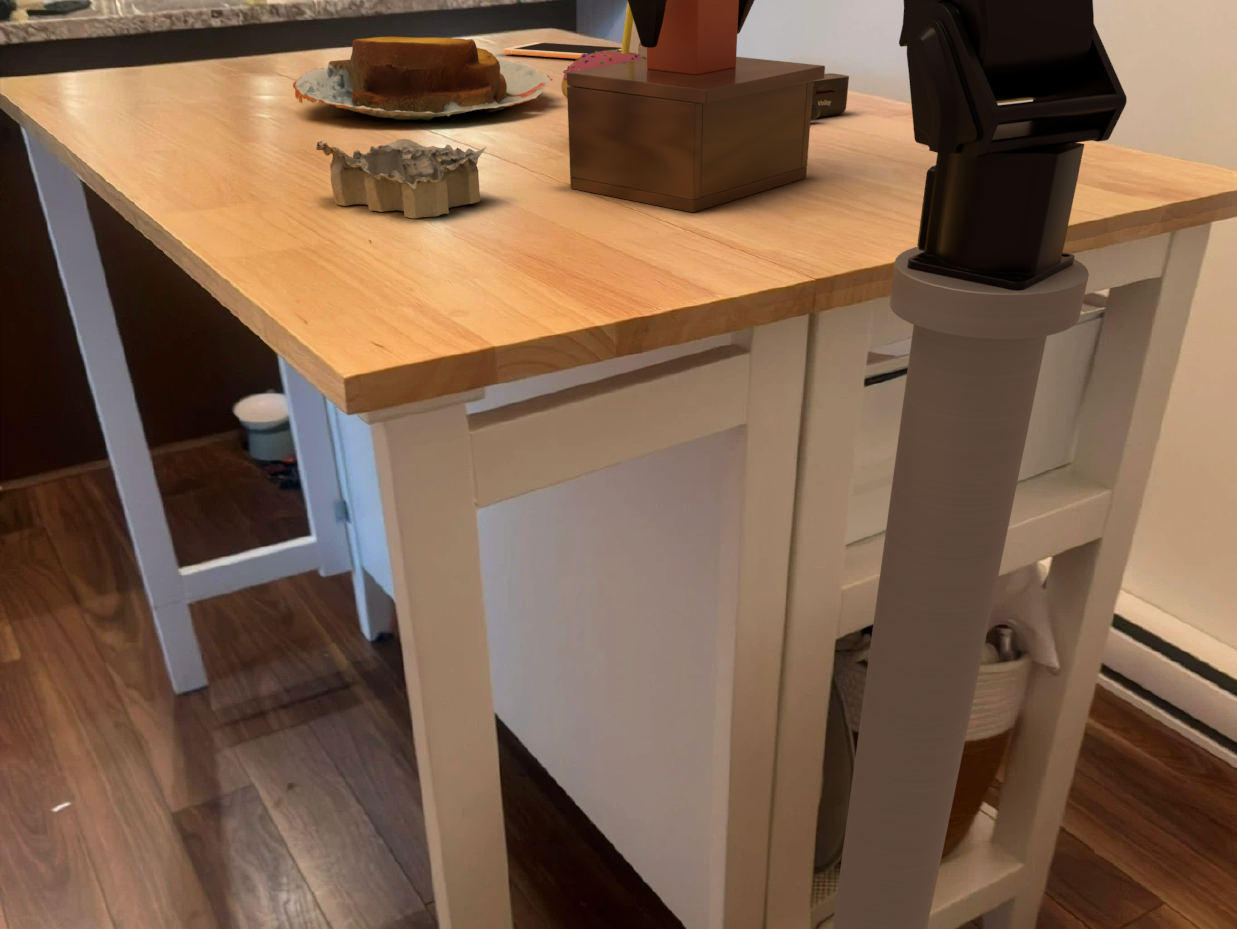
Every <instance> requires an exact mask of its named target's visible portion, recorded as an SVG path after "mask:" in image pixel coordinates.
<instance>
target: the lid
mask: <svg viewBox="0 0 1237 929" xmlns="http://www.w3.org/2000/svg"><path fill="white" fill-rule="evenodd" d="M825 70H826V66H825V65H823V64H822V65H821V64H812V63H802V62H792V61H782V60H774V59H773V60H772V59H762V58H754V57H753V58H752V57H745V56H744V57H743V56H736V67H735V68H730V69H725V70H719V71H714V72H709V73H703V74H698V75H693V74H684V73H676V72H667V71H659V70H650V69H647V59H644V60H638V61H632V62H626V63H620V64H614V65H608V66H602V67H596V68H590V69H584V70H578V71H572V72H567V85H568V86H575V87H582V88H589V89H597V90H604V91H612V92H619V93H627V94H634V95H642V96H649V97H656V98H664V99H671V100H679V101H686V102H694V103H701V104H709V103H713V102H718V101H723V100H727V99H732V98H737V97H741V96H746V95H751V94H755V93H760V92H764V91H769V90H774V89H778V88H783V87H788V86H792V85H797V84H802V83H806V82H811V81H815V80H820V79H824V74H826V71H825Z"/></svg>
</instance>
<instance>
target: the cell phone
mask: <svg viewBox="0 0 1237 929" xmlns="http://www.w3.org/2000/svg"><path fill="white" fill-rule="evenodd" d="M611 49H613V50H616V49H619V50H622V46H620V47H619V46H606V45H593V44H575V43H557V42H542V41H536V42H535V41H534V42H531V43H529V42H528V43H525V44H524V43H523V44H519V45H515V46H509V47H505V48H503V54H504V55H516V56H531V57H532V56H533V57H548V58H560V59H561V58H562V59H575V60H576V59H578V58H579V57H580V56H582V54H588V53H589V52H592V53H595V51H597V52H600V51H603V50H604V51H609V50H611Z"/></svg>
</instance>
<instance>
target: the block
mask: <svg viewBox="0 0 1237 929" xmlns="http://www.w3.org/2000/svg"><path fill="white" fill-rule="evenodd" d="M738 5H739V0H667V2H666V7H665V13H664V18H663V23H662V28H661V31H660V35H659V39H658V43H657V46H656V47H654V48H648V47H647V69H650V70H659V71H667V72H676V73H684V74H693V75H698V74H703V73H709V72H714V71H719V70H725V69H730V68H735V67H736V57H737V53H738V52H737V51H738V50H737V49H738V34H737V29H738Z"/></svg>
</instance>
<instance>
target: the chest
mask: <svg viewBox="0 0 1237 929" xmlns="http://www.w3.org/2000/svg"><path fill="white" fill-rule="evenodd" d="M812 94H813V81H811V82H806V83H802V84H797V85H792V86H788V87H783V88H778V89H774V90H769V91H764V92H760V93H755V94H751V95H746V96H741V97H737V98H732V99H727V100H723V101H718V102H713V103H709V104H701V103H694V102H686V101H679V100H671V99H664V98H656V97H649V96H642V95H634V94H627V93H619V92H612V91H604V90H597V89H589V88H582V87H575V86H568V87H567V98H566V99H567V100H566V101H567V124H568V127H567V128H568V152H569V153H568V155H569V157H568V158H569V177H570V178H569V180H570V181H569V185H570V189H572V190H577V191H582V192H587V193H593V194H598V195H602V196H607V197H613V198H618V199H623V200H628V201H633V202H638V203H642V204H647V205H653V206H658V207H664V208H668V209H673V210H677V211H684V212H688V213H695V212H699V211H702V210H706V209H709V208H712V207H715V206H718V205H722V204H725V203H729V202H732V201H735V200H738V199H742V198H745V197H748V196H751V195H754V194H758V193H761V192H765V191H768V190H771V189H775V188H777V187H782V186H784V185H787V184H790V183H794V182H797V181H800V180H804V179H806V178H807V171H808V160H809V148H810V134H811V121H812V120H811V107H812Z"/></svg>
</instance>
